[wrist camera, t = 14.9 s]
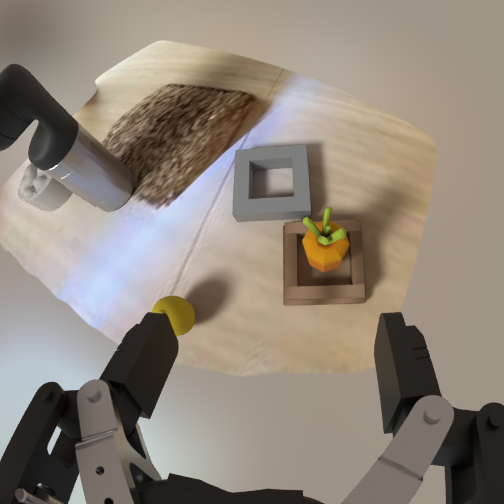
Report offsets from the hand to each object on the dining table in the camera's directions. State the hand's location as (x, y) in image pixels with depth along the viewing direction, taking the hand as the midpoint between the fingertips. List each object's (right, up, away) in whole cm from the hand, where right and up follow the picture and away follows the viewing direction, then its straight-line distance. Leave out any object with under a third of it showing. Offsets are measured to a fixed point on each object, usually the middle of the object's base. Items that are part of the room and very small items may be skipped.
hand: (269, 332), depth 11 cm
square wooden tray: (+9, +1, +31) cm, 32 cm away
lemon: (-10, -7, +33) cm, 35 cm away
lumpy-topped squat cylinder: (-45, +17, +47) cm, 67 cm away
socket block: (+3, +13, +35) cm, 38 cm away
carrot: (+9, +1, +29) cm, 31 cm away
